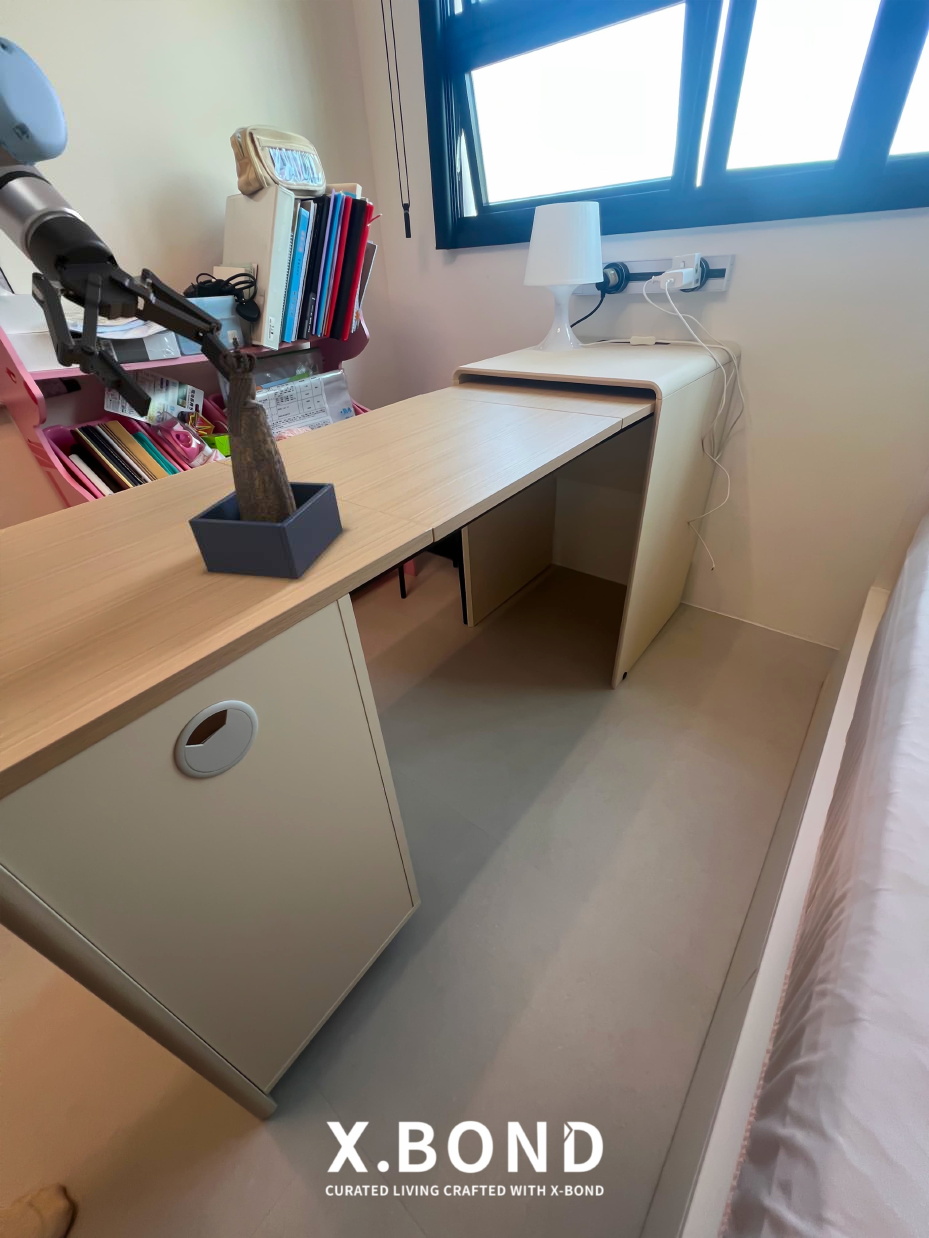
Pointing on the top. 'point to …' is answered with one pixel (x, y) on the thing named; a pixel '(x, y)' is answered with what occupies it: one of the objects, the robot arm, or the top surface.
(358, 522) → the top surface
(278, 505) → the statue
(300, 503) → the bin
